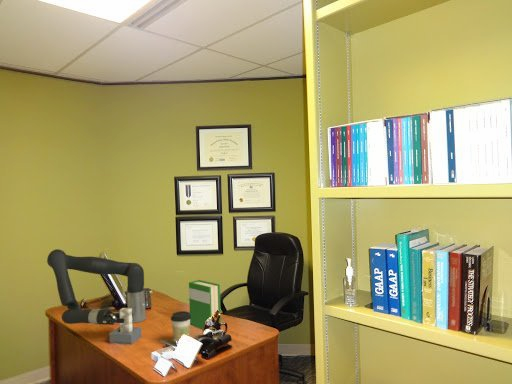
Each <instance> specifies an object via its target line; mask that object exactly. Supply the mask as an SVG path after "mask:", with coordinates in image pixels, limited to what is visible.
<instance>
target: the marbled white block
mask: <svg viewBox="0 0 512 384" xmlns="http://www.w3.org/2000/svg"><path fill="white" fill-rule="evenodd" d="M119 311H120V318H124V323H119V325H120V326H119V327H120V331H121V332H127V333H129V332H131V331H132V330H133V329H132V327H133V323H132V308H128V307H122V308H120V309H119Z"/></svg>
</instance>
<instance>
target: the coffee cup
mask: <svg viewBox="0 0 512 384" xmlns="http://www.w3.org/2000/svg"><path fill="white" fill-rule="evenodd" d="M190 318H191V315H190V311H177V312H174V313H172V315H171V317H170V320H171V324H172V325H171V327H172V333H173V339H174V342H175V341H177V342H178V341H179V339H180V338H181V336H182V335H183V334H185V335H187V336H189V337H190V332H191V331H190V330H191V325H190Z"/></svg>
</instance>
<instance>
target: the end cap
mask: <svg viewBox="0 0 512 384" xmlns="http://www.w3.org/2000/svg"><path fill="white" fill-rule="evenodd" d="M132 329H133V330H132V331H131V332H129V333H127V332H121V331H120V326H119V327H117V328H115V329H114V330H112V331H111V332H110V333H109V334H108V335H109V344H110V343H117V344H116V345H127V344H130V346H132V345H133V344H135V343H136V342H137V341H138V340H139V338H140V339H141V338H142V335H143V334H142V327H139V326H132ZM135 341H136V342H135Z"/></svg>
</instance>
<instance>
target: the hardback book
mask: <svg viewBox="0 0 512 384" xmlns="http://www.w3.org/2000/svg"><path fill="white" fill-rule="evenodd" d="M188 294H189V295H188V297H189V298H188V301H189V302H188V303H189V304H188V305H189V313H190V315H191V318H190V326H193V327H195V328H197V329H201V330H203V329H204V325H205V321H206V320H207V319H208V318H209V317H211V316H213V315H214V314H215V312H216V311H217V310H218V311H219V313H220V319H219V322H220V324H221V325H222V317H221V315H222V313H221V311H222V309H221V285H220V284H219V283H217V282H216V283H215V282H210V281H207V280H201V279H196V280H193V281H189V282H188Z"/></svg>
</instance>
